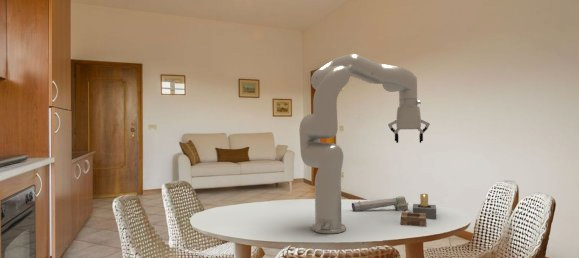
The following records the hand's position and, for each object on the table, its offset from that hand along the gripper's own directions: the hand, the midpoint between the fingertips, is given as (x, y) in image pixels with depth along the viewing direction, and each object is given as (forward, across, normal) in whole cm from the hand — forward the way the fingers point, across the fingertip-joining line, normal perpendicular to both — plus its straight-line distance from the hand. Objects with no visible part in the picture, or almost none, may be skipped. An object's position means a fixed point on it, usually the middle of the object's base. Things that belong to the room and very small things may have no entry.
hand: (408, 142), depth 161 cm
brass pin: (+30, -6, +6) cm, 31 cm away
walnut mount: (+30, -2, +19) cm, 36 cm away
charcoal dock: (+30, -6, +6) cm, 31 cm away
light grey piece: (+31, +13, 0) cm, 33 cm away
